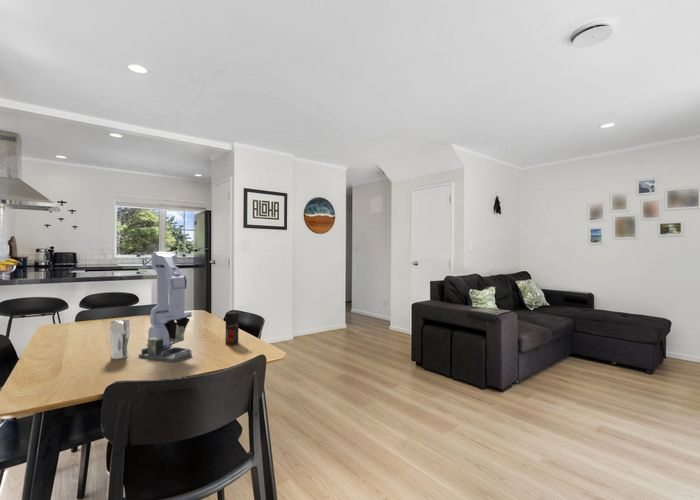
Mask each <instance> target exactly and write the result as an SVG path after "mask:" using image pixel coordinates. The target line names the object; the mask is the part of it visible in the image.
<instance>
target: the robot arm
mask: <svg viewBox="0 0 700 500" xmlns="http://www.w3.org/2000/svg"><path fill="white" fill-rule="evenodd" d="M177 260H178V254H177V253H176V252H175V251H153V252H152V254H151V269H152V270H153V271H155V272H156V300H157V301H156V302H157V303H156V305H155V306H154V307H152V309H150V316H149V323H150V325H151V326H150V327H149V329H148V331H147V333H148V334H147V336H148V337H147V340H148V339H150V338H153V337H161V338H163V345H164V346H170V345H172V344H175V343H174V342H169V337H170V338H171V339H175V333H176V327H177V326H184V333H185V330H186V328H187V325H188V324H189V322H190V318H192V317H193V316H192V312H191V311H190V312H189V311H187V312H186V311H185V303H186V301H185V298H186V297H185V294H186V289H187V286H188V285H187V283H188V280H187V276H186V275H182V272H181V270H180V268H179V267H178V266H176V265H177V262H178V261H177ZM146 345H147V346H148V343H146Z"/></svg>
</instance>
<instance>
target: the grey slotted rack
mask: <svg viewBox="0 0 700 500" xmlns="http://www.w3.org/2000/svg"><path fill="white" fill-rule="evenodd" d="M147 344H148V345H147V347H144V348H141V353H139V354H138V358H141V359H148V360H149V359H150V360H155V361H162V362H170V363H178V362H181V361H182V360H185V359H188V358H190V357H192V355H193V351H192V349H190V348H188V347H178V346H174V347H173V346H170V345H166V346H164V345H163V338H161V337H153V338H150V339H148V338H147Z"/></svg>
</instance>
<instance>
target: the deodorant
mask: <svg viewBox="0 0 700 500" xmlns="http://www.w3.org/2000/svg"><path fill="white" fill-rule="evenodd" d="M239 315H240V313H239V312H238V311H227V312H225V345H226V344H227V345H226V346H234V345H233V344H237V343H238V344H239V328H240V327H239V318H240V317H239ZM238 344H237V345H238Z"/></svg>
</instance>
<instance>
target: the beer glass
mask: <svg viewBox="0 0 700 500" xmlns="http://www.w3.org/2000/svg"><path fill="white" fill-rule="evenodd" d="M130 331H131V329H130V320H128V319H117V320H112V321H110V325H109V338H110V345H111V356H110V359H111V360H123V359H126V358H128V357H129V352H128V351H129V350H128V346H129V345H128V344H129V340H130V334H131V332H130Z"/></svg>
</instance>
